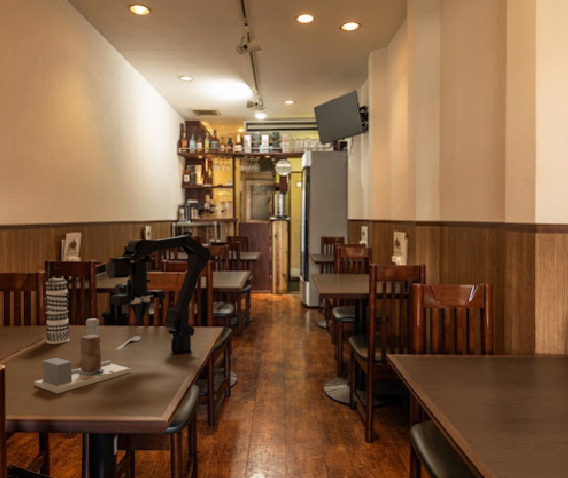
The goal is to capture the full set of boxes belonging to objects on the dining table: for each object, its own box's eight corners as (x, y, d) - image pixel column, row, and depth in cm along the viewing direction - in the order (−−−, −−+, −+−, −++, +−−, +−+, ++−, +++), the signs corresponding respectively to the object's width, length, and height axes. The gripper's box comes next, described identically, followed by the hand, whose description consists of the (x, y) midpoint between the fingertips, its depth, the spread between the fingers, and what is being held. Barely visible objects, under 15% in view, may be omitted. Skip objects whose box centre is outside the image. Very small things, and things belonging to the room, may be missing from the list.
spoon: (142, 339, 204) (142, 335, 204) (118, 353, 184) (118, 348, 184) (133, 339, 205) (133, 335, 205) (107, 352, 184) (107, 348, 184)
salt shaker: (95, 358, 175) (94, 320, 175) (80, 357, 176) (79, 320, 176) (104, 353, 181) (104, 317, 180) (90, 353, 182) (89, 317, 182)
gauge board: (107, 366, 165) (107, 344, 165) (130, 372, 158) (130, 349, 157) (34, 385, 146) (34, 360, 145) (57, 393, 138) (56, 367, 138)
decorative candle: (73, 341, 200) (71, 278, 199) (47, 345, 195) (45, 280, 194) (68, 337, 207) (66, 276, 207) (43, 340, 202) (41, 278, 201)
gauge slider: (92, 368, 157) (92, 333, 157) (109, 373, 152) (108, 337, 152) (77, 372, 153) (77, 336, 153) (94, 377, 148) (93, 340, 148)
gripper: (145, 273, 182) (146, 316, 183) (100, 277, 167) (100, 324, 167) (166, 274, 176) (166, 319, 176) (121, 279, 161) (121, 328, 161)
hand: (139, 322), depth 170 cm, fingers closed
